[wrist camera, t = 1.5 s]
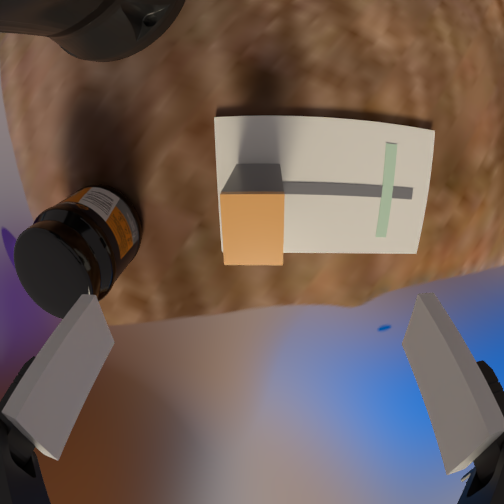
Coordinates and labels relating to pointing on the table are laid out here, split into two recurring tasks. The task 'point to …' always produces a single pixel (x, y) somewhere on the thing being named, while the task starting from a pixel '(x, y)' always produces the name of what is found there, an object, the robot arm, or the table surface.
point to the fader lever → (253, 215)
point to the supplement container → (77, 248)
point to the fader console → (336, 178)
